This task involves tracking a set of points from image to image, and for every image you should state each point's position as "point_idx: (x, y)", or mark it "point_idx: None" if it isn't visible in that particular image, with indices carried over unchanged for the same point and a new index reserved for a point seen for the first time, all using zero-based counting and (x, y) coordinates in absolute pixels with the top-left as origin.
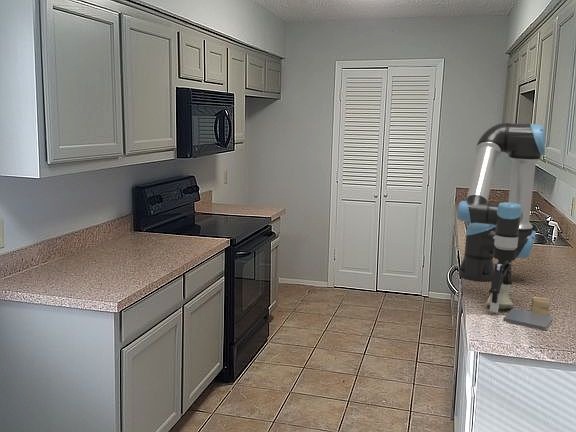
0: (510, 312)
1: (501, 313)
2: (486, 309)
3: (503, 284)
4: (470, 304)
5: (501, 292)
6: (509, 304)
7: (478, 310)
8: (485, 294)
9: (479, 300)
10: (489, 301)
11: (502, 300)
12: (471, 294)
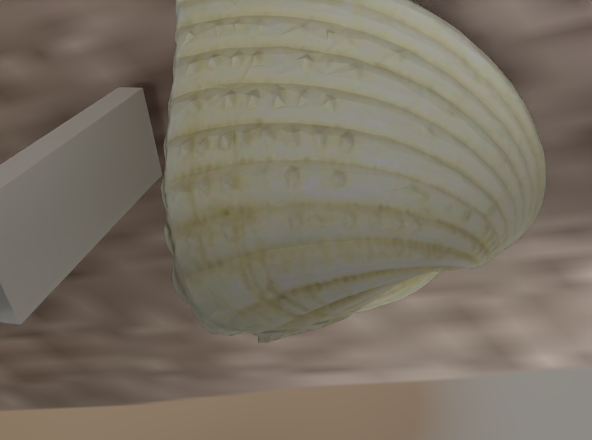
0: None
1: (564, 55)
2: None
3: (7, 296)
4: (414, 369)
5: (345, 247)
6: (423, 9)
7: (589, 298)
8: None
9: None
10: (433, 277)
11: (476, 146)
12: (125, 379)
